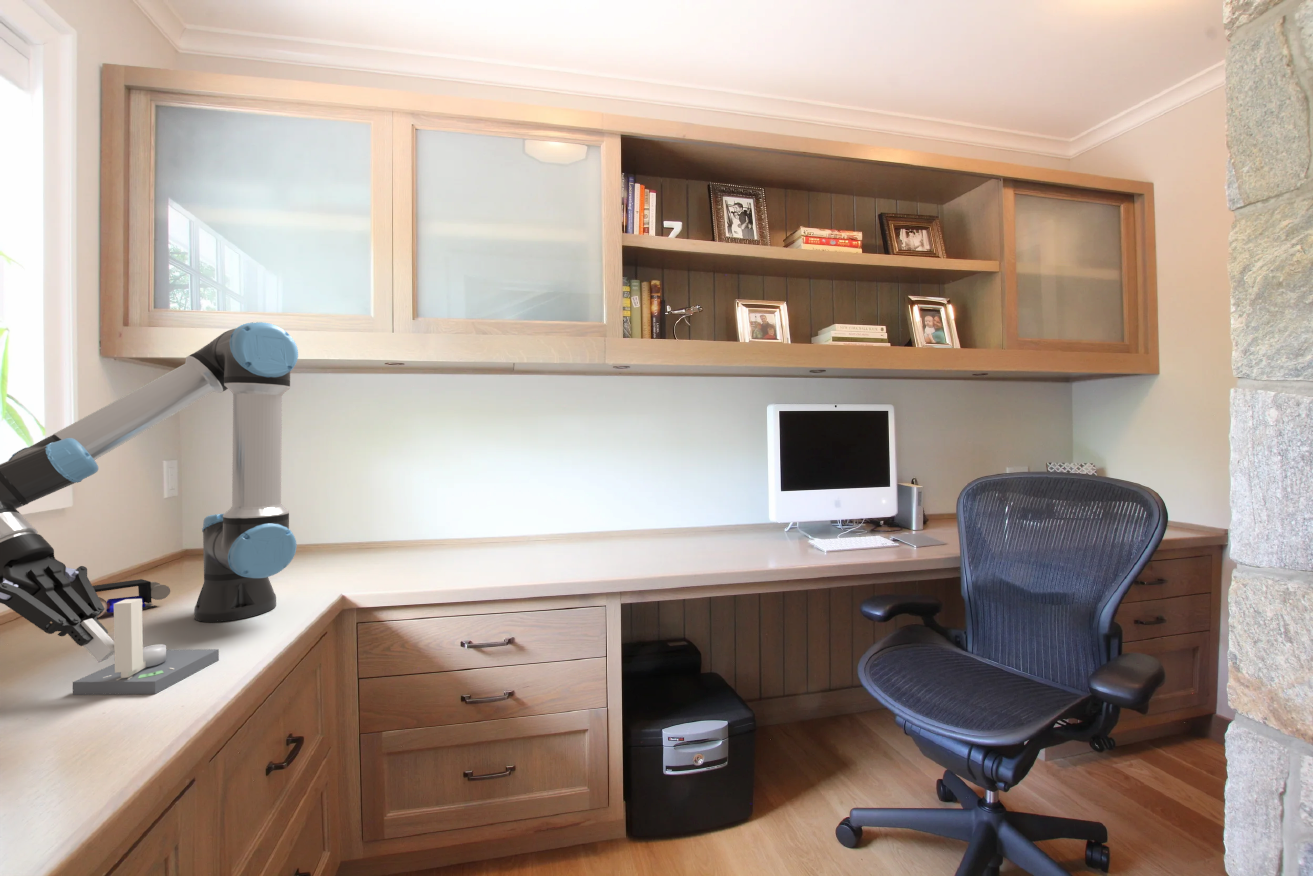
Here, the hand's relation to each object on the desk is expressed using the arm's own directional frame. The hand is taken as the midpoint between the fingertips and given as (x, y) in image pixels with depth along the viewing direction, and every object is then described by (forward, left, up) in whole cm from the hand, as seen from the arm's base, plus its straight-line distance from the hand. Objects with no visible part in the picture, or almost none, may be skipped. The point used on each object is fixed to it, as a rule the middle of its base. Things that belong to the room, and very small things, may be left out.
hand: (109, 654), depth 89 cm
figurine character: (-40, -35, -6) cm, 53 cm away
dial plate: (-6, +2, -6) cm, 8 cm away
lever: (-4, +2, -4) cm, 6 cm away
